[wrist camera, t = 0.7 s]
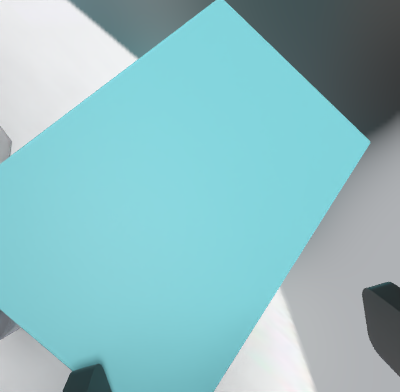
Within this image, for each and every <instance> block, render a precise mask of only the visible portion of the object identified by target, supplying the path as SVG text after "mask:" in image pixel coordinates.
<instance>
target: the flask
mask: <svg viewBox="0 0 400 392" xmlns="http://www.w3.org/2000/svg"><path fill="white" fill-rule="evenodd" d="M10 148H11V140H10V138H9V137H8V136H7V134H6V133H5V132H4V130H3V129H2V128H1V126H0V164H1V163H2V162H3V161H5V160H6V159H7V158H9V156H10Z"/></svg>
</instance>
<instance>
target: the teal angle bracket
mask: <svg viewBox="0 0 400 392" xmlns="http://www.w3.org/2000/svg"><path fill="white" fill-rule="evenodd" d="M369 144H370V141H369V140H368V139H367V138H366V137H365V136H364V135H363V134H362V133H361V132H360V131H359V130H358V129H357V128H356V127H355V126H353V125H352V124H351V123H350V122H349V121H348V120H347V119H346V118H345V117H344V116H343V115H342V114H341V113H340V112H339V111H338V110H337V109H336V108H335V107H334V106H333V105H332V104H331V103H330V102H329V101H328V100H327V99H326V98H324V96H322V95H321V94H320V93H319V92H318V91H317V90H316V89H315V88H314V87H313V86H312V85H311V84H310V83H309V82H308V81H307V80H306V79H305V78H304V77H303V76H302V75H301V74H300V73H299V72H297V70H296V69H295V68H294V67H292V66H291V65H290V64H289V63H288V62H287V61H286V60H285V59H284V58H283V57H282V56H281V55H280V54H279V53H278V52H277V51H276V50H275V49H274V48H273V47H272V46H271V45H270V44H269V43H268V42H267V41H266V40H265V39H264V38H263V37H261V36H260V35H259V34H258V33H257V32H256V31H255V30H254V29H253V28H252V27H251V26H250V25H249V24H248V23H247V22H246V21H245V20H244V19H243V18H242V17H241V16H240V15H239V14H237V12H235V10H234V9H233V8H232V7H230V6H229V5H228V4H227V3H226V2H225V1H224V0H216V1H215V2H213V3H212V4H211V5H209V6H208V7H207V8H205V9H204V10H203V11H201V12H200V13H199V14H197V15H196V16H195V17H193V18H192V19H191V20H189V21H188V22H187V23H185V24H184V25H183V26H182V27H180V28H179V29H178V30H176V31H175V32H174V33H172V34H171V35H170V36H168V37H167V38H166V39H165V40H163V41H162V42H160V43H159V44H158V45H156V46H155V47H154V48H153V49H151V50H150V51H149V52H147V53H146V54H145V55H143V56H142V57H141V58H139V59H138V60H137V61H135V62H134V63H133V64H131V65H130V66H129V67H127V68H126V69H125V70H124V71H122V72H121V73H120V74H118V75H117V76H116V77H114V78H113V79H112V80H110V81H109V82H108V83H106V84H105V85H104V86H102V87H101V88H100V89H98V90H97V91H96V92H94V93H93V94H92V95H91V96H89V97H88V98H87V99H85V100H84V101H83V102H81V103H80V104H79V105H77V106H76V107H75V108H73V109H72V110H71V111H69V112H68V113H67V114H65V115H64V116H63V117H62V118H60V119H59V120H58V121H56V122H55V123H54V124H52V125H51V126H50V127H48V128H47V129H46V130H44V131H43V132H42V133H40V134H39V135H38V136H36V137H35V138H34V139H33V140H31V141H30V142H29V143H27V144H26V145H25V146H23V147H22V148H21V149H19V150H18V151H17V152H15V153H14V154H13V155H11V156H10V157H9V158H7V159H6V160H5V161H3V162H2V163H1V164H0V310H2V311H3V312H4V313H5V314H6V315H7V316H9V317H10V318H11V319H12V320H13V321H14V322H16V323H17V324H18V325H19V326H20V327H21V328H23V329H24V330H25V331H26V332H27V333H29V334H30V335H31V336H32V337H33V338H34V339H36V340H37V341H38V342H39V343H40V344H41V345H43V346H44V347H45V348H46V349H47V350H48V351H50V352H51V353H52V354H53V355H54V356H55V357H57V358H58V359H59V360H60V361H61V362H63V363H64V364H65V365H66V366H67V367H68V368H70V369H71V370H72V371H74V370H77V369H81V368H84V367H88V366H91V365H95V364H101V365H102V367H103V369H104V371H105V374H106V377H107V379H108V382H109V385H110V388H111V391H112V392H214V390H215V389H216V387H217V385H218V384H219V382H220V381H221V379H222V377H223V376H224V374H225V373H226V371H227V369H228V368H229V366H230V365H231V363H232V362H233V360H234V358H235V357H236V355H237V354H238V352H239V350H240V349H241V347H242V346H243V344H244V342H245V341H246V339H247V338H248V336H249V335H250V333H251V331H252V330H253V328H254V327H255V325H256V323H257V322H258V320H259V319H260V317H261V315H262V314H263V312H264V311H265V309H266V308H267V306H268V304H269V303H270V301H271V300H272V298H273V296H274V295H275V293H276V292H277V290H278V289H279V287H280V285H281V284H282V282H283V280H284V279H285V277H286V276H287V274H288V273H289V271H290V269H291V268H292V266H293V264H294V263H295V262H296V260H297V258H298V257H299V255H300V254H301V252H302V250H303V249H304V247H305V246H306V244H307V242H308V241H309V239H310V238H311V236H312V235H313V233H314V231H315V230H316V228H317V226H318V225H319V223H320V222H321V220H322V219H323V217H324V215H325V214H326V212H327V211H328V209H329V207H330V206H331V204H332V203H333V201H334V200H335V198H336V196H337V195H338V193H339V192H340V190H341V188H342V187H343V185H344V184H345V182H346V180H347V179H348V177H349V176H350V174H351V173H352V171H353V169H354V168H355V166H356V165H357V163H358V161H359V160H360V158H361V157H362V155H363V153H364V152H365V150H366V149H367V147H368V146H369Z"/></svg>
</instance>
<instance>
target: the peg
mask: <svg viewBox="0 0 400 392" xmlns="http://www.w3.org/2000/svg"><path fill="white" fill-rule="evenodd" d="M19 328H21V327H20V326H19V325H18V324H17V323H16V322H14V321H13V320H12V319H11V318H10V317H9V316H7V315H6V314H5V313H4V312H3V311H2V310H0V340H1V339H3V338H4V337H6V336H8V335H9V334H11V333H13V332H14V331H16V330H18V329H19Z"/></svg>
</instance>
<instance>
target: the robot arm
mask: <svg viewBox="0 0 400 392" xmlns="http://www.w3.org/2000/svg"><path fill="white" fill-rule="evenodd" d="M362 297H363V303H364V310H365V317H366V324H367V331H368V335H369V338H370V341H371V343H372V345H373V347H374V349H375V350H376V352H377V353H378V354H379V356H380V357H381V358H382V359H383V360H384V361H385V362H386V363H387V364H388V365H389V366H390V367H391V368H392V369H393V370H394V371H395V372H396V373H397V374H398V375H399V376H400V287H398V286H397V285H395V284H393V283H391V282H386V283H382V284H379V285H375V286H372V287H369V288H365V289H364V290H363V292H362ZM63 392H112V391H111V388H110V385H109V382H108V379H107V377H106V374H105V371H104V369H103V367H102V365H101V364H95V365H91V366H88V367H84V368H81V369H77V370H74V371H72V372H71V373H70V375H69V378H68V380H67V382H66V385H65V387H64V389H63Z"/></svg>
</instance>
